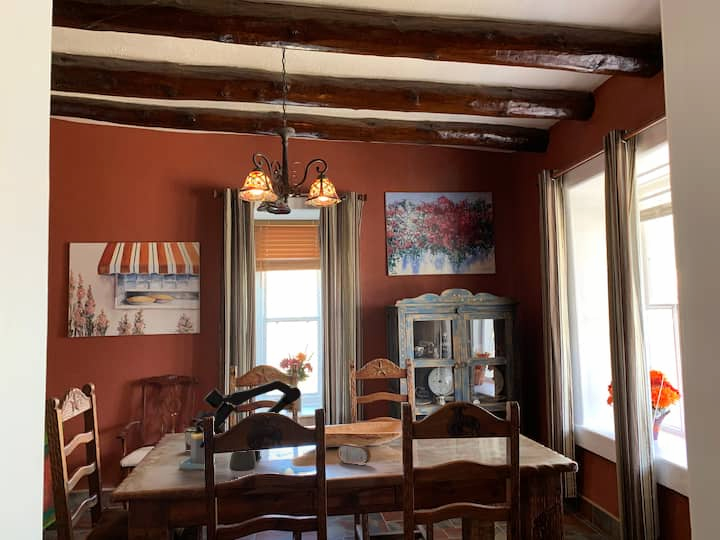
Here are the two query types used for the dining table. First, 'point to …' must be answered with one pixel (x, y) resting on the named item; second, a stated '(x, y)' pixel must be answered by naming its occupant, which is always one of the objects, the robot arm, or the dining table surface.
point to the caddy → (197, 449)
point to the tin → (353, 453)
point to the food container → (189, 437)
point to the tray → (191, 465)
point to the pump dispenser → (242, 463)
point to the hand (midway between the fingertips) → (195, 445)
